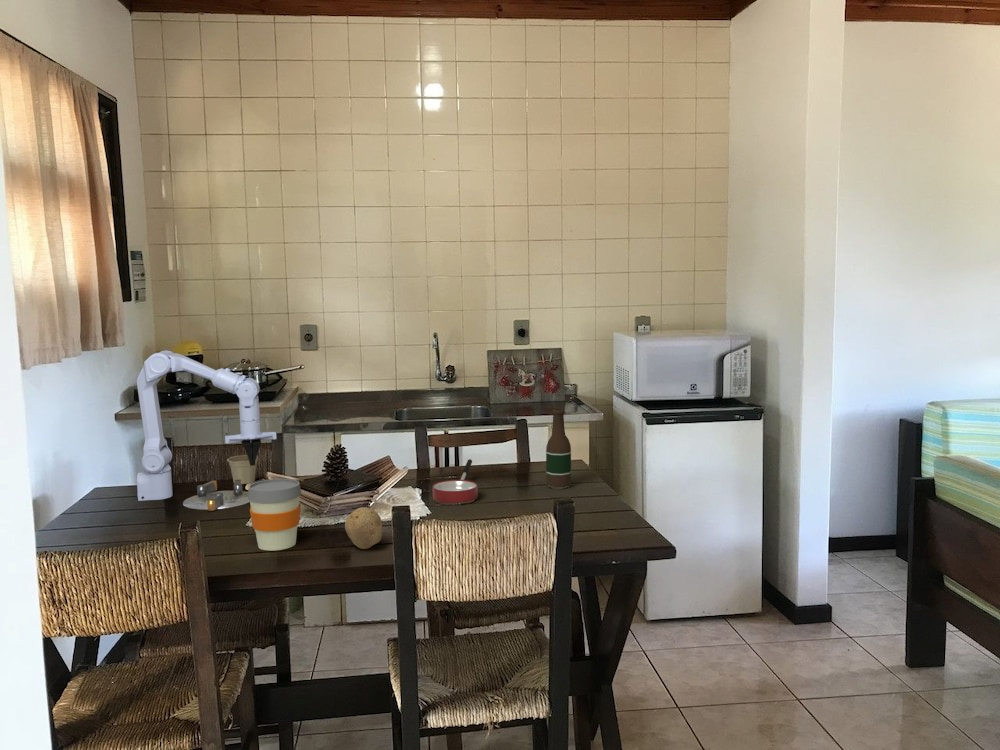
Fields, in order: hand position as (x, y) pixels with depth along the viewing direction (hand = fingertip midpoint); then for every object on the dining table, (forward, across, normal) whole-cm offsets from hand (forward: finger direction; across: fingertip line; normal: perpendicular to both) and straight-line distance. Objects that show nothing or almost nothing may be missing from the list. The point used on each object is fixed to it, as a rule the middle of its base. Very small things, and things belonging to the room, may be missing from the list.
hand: (252, 464), depth 248 cm
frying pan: (+10, +57, -21) cm, 62 cm away
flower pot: (+10, -1, +15) cm, 18 cm away
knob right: (+8, -4, +1) cm, 9 cm away
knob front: (+8, -12, -13) cm, 19 cm away
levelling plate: (+10, -10, -4) cm, 15 cm away
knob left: (+8, -13, +3) cm, 15 cm away
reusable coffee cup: (+10, 0, -50) cm, 50 cm away
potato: (+10, +19, -61) cm, 65 cm away
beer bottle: (+10, +87, -29) cm, 92 cm away
